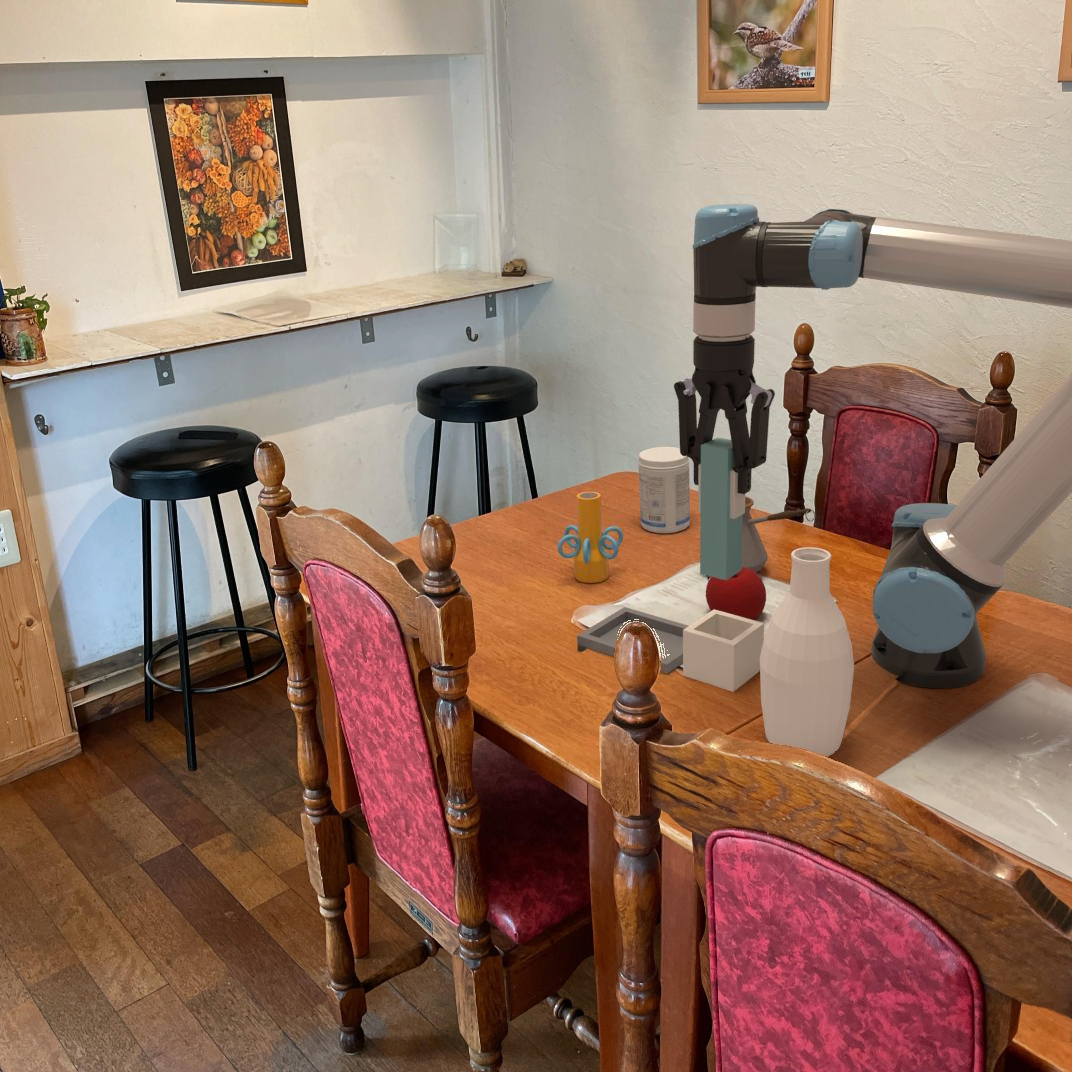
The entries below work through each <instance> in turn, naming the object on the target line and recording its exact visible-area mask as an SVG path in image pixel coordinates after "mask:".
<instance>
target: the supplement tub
mask: <svg viewBox="0 0 1072 1072" xmlns="http://www.w3.org/2000/svg"><path fill="white" fill-rule="evenodd" d="M689 460H690V459H689V457H687V456H682V455H681V453H680V447H673V446H657V447H656V446H655V447H651V448H648V449H644V450H643V451H641V452H639V454H638V485H639V486H638V489H639V491H638V492H639V494H638V495H639V512H640V513H639V515H640V516H639V517H640V525H641V527H642V528H643V529H644V530H646V531H648V532H651V533H656V534H674V533H678V532H680V531H684V530H685V529H687V528H688V527H689V525H690V523H691V501H690V499H691V497H690V496H691V495H690V494H691V492H690V489H691V488H690V461H689Z"/></svg>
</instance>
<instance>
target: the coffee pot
mask: <svg viewBox="0 0 1072 1072" xmlns="http://www.w3.org/2000/svg"><path fill="white" fill-rule="evenodd" d="M754 503H755V502H754V500H753V499H752V498H751V497H749V496H746V495H745V513H744V514H743V518H742V564H741V567H745V568H748V569H750V570H752V571H754V572H756V573H758V572H759V571H760V570H762V569H763V568H764V567H765V565H766V563H767V561H768V552H767V551H766V548H765V545H764V543H763V541H762V539H761V537H760V533H759V531H758V529H757V527H756V524H759V523H763V522H769V521H770V522H771V521H778V520H786V519H790V518H793V517H796V516H797V517H801V516H802V515H805V519H806V521H808V522H813V521H814V520H815V519H816V512H815V511H814V510H813V509H811V508H803V509H801V508H797V509H796V510H784V511H780V512H777V513H773V514H769V515H767V516H760V517H755V518H754V517H753V518H752V515H751V513H750V511H751V509H752V508H751V507H752V506H754ZM811 512H812V513H813V518H812V520H810V519H808V515H807V514H809V513H811Z"/></svg>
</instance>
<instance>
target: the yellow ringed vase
mask: <svg viewBox="0 0 1072 1072" xmlns="http://www.w3.org/2000/svg"><path fill="white" fill-rule="evenodd" d="M601 500H602V498H601V493H599V492H597V491H583V492H579V493H578V494H576V505H577V506H576V510H577V525H573V524H570V525H567V526H565V529H564V534H563V535H564V536H563V537H562V536H561V538H560V540H559V541H558V543H557V552H558V554H559V555H560V556H561V557H562V558H563V559H571V558H573V568H574V569H573V570H574V571H573V572H574V578H575V580H576V581H578V582H580V583H584V584H597V583H601V582H604V581H606V580H608V579H609V575H610V567H609V566H610V565H609V563H610V562H609V560H614V559H615V558H617V556H618V554H619V547H620V546H621V544H622V543H623V541H624V533H623V530H622V529H621V528H620V527H618V526H615V525H614V526H613V525H612V526H608V527H606V528H605V529H604V530H603V529H602V528H603V526H602V501H601ZM571 530H573V531H575V532H576V534H577V535H576V534H570V531H571ZM602 530H603V531H602ZM610 532H617V535H618V539H617V540H616V539H615V538H614V537H612V536H611V535H609V533H610ZM572 540H573V541H574V542H575V543H574V542H573V541H572ZM606 540H607V541H609V542H610V543H611V544H612V545H610V544H607V543H606ZM565 542H566V544H567V545H568V546H569V547H570V548H572V549H574V550H573V551H572V552H571V553H565V552H564V551H563V545H564V544H565ZM607 550H610V551H612V550H613V552H612V554H609V553H608V551H607Z"/></svg>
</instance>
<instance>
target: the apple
mask: <svg viewBox="0 0 1072 1072" xmlns="http://www.w3.org/2000/svg"><path fill="white" fill-rule="evenodd" d="M705 598H706V604H707V606H708V608H709V610H710V612H711V611H712V610H718V611H722V612H725V613H729V614H733V615H736V616H740V617H743V618H747V619H751V620H754V621H757V619H759V617H760V616H761V615H762V613H763V611H764V609H765V607H766V601H767V591H766V586H765V583H764V581H763V579H762V578H761V577H760V575H759V573H758V572H754V571H752V570H750V569H748V568H745V567H741V571H740V572H738V573H736V574H735V575H733V576H732V577H730V578H729V579H727V580H723V579H719V578H715V577H711V576H710V578H709V579H708V581H707V584H706V588H705Z"/></svg>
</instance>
